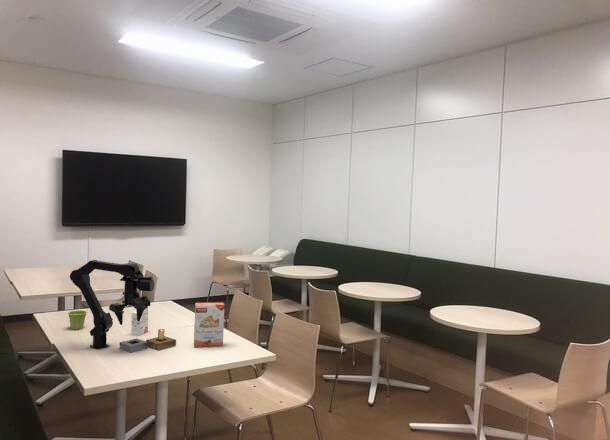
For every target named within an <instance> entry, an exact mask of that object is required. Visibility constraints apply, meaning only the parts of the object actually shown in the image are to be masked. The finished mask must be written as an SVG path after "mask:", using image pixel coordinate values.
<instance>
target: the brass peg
mask: <svg viewBox="0 0 610 440" xmlns="http://www.w3.org/2000/svg"><path fill="white" fill-rule="evenodd" d="M164 336H165V328H159V329H158V330H157V337H158V341H160V342H161V341H164Z"/></svg>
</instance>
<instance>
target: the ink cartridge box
mask: <svg viewBox="0 0 610 440" xmlns="http://www.w3.org/2000/svg"><path fill="white" fill-rule="evenodd" d="M147 307H148V308H146V309H145V310H144V311H143V314H142V316H141V319H140V321H137V311H136V310H134V312H133V311H132V312H131V328H130V329H131V331H130V332H131V336H142V335H143V334H146V333H148V331H149V329H148V327H149V306H147ZM145 332H146V333H145ZM141 334H142V335H141Z"/></svg>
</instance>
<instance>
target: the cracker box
mask: <svg viewBox="0 0 610 440" xmlns="http://www.w3.org/2000/svg"><path fill="white" fill-rule="evenodd" d="M194 305H195V306H194V324H193V326H194V328H193V329H194V331H193V347H194V348H209V347H211V348H212V347H223V346H224V328H225V327H224V326H225V325H224V324H225V303H224V302H195V304H194Z"/></svg>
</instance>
